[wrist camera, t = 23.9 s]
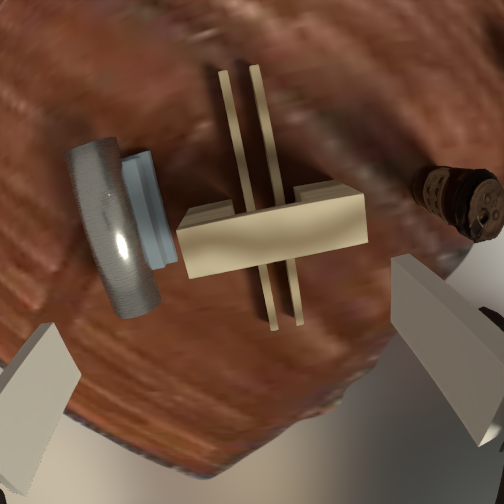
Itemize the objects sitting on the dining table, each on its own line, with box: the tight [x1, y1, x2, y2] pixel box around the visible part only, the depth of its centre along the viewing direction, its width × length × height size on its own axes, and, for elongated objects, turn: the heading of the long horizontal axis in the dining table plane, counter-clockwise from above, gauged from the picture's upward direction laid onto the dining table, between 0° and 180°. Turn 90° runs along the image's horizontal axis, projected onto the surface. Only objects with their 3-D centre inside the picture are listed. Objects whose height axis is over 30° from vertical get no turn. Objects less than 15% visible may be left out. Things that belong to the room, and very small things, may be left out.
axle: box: [64, 137, 161, 318], centre depth 33 cm, size 19×6×6 cm, turn 11°
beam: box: [176, 65, 368, 331], centre depth 34 cm, size 33×18×10 cm, turn 11°
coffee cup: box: [413, 165, 504, 243], centre depth 33 cm, size 9×8×13 cm
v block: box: [121, 151, 178, 270], centre depth 37 cm, size 14×10×4 cm
